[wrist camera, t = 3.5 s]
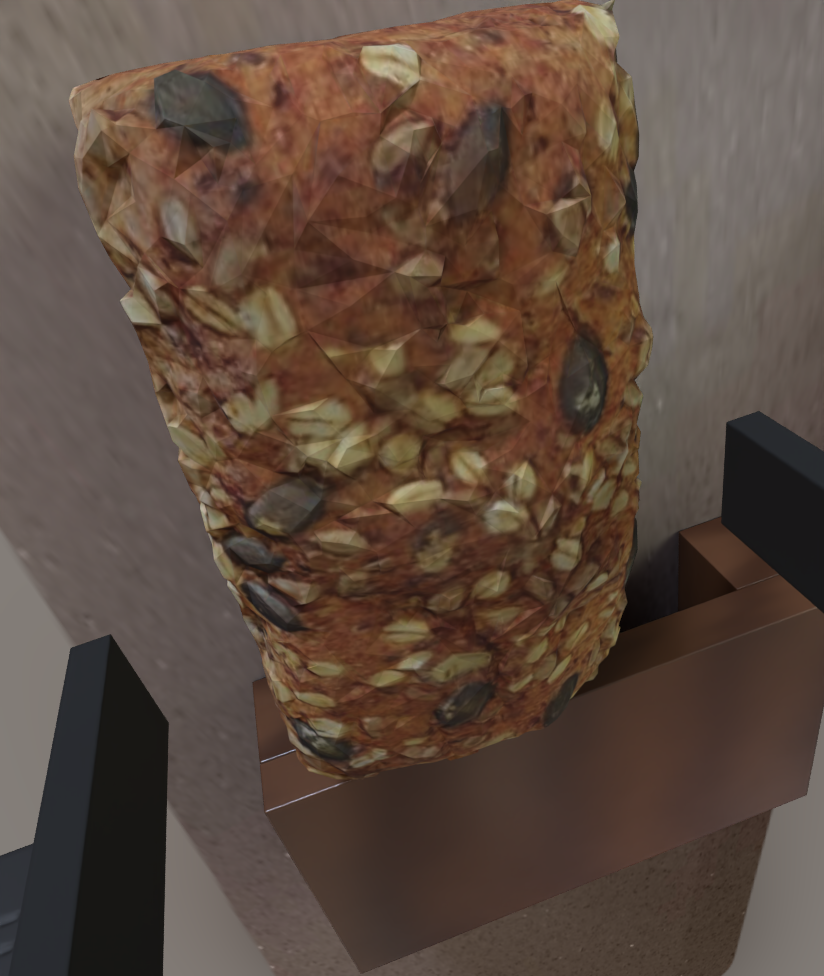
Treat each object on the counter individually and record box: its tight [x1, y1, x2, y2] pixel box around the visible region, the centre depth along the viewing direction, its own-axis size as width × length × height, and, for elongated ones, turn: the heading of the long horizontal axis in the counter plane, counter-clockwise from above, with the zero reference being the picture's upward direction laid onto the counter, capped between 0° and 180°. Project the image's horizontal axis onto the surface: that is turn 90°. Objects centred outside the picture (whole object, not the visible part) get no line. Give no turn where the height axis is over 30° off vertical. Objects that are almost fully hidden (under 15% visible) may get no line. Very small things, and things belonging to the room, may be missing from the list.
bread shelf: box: [253, 517, 824, 974], centre depth 31 cm, size 22×13×6 cm, turn 102°
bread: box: [69, 0, 653, 780], centre depth 19 cm, size 19×11×10 cm, turn 7°
